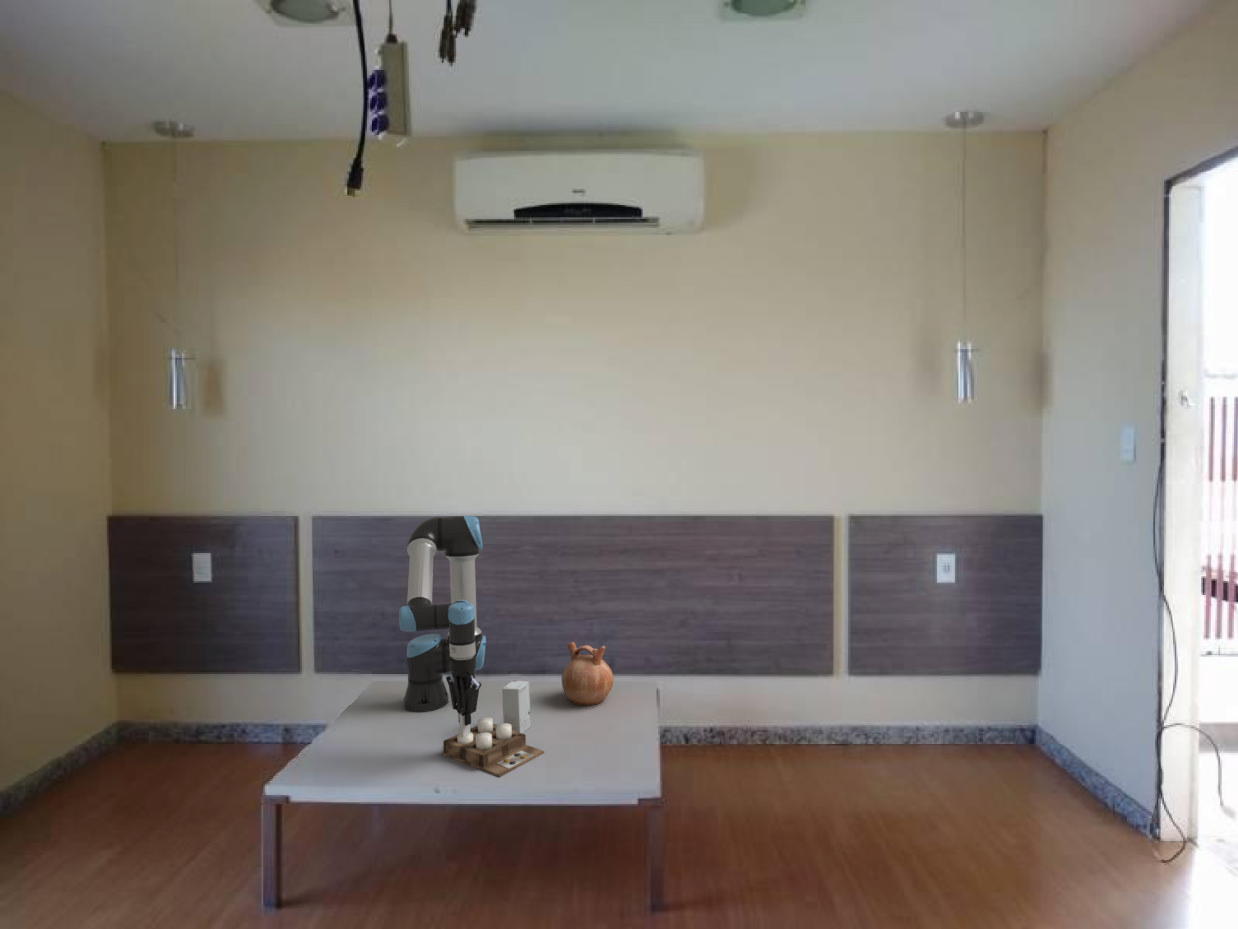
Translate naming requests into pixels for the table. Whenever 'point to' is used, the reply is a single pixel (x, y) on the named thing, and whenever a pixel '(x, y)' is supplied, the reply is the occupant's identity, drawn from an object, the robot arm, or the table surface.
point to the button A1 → (465, 738)
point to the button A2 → (485, 725)
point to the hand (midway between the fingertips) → (465, 734)
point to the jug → (586, 676)
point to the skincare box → (517, 705)
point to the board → (492, 752)
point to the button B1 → (483, 741)
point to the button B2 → (503, 731)
